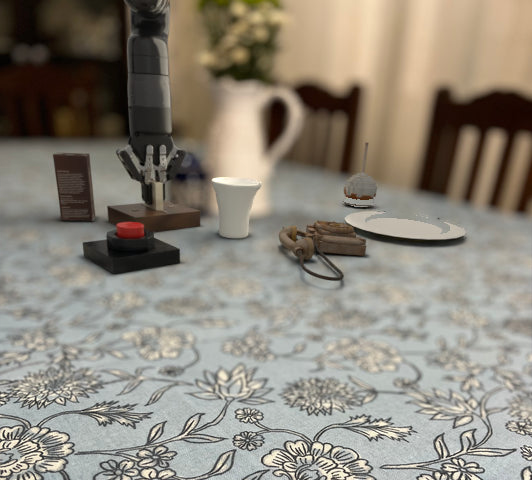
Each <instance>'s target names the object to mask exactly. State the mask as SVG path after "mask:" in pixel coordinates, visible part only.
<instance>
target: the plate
mask: <svg viewBox="0 0 532 480" xmlns="http://www.w3.org/2000/svg"><path fill="white" fill-rule="evenodd" d="M377 211H378V210H368V211H367V210H366V211H365V210H364V211H358V212H357V211H356V212H352V213H350V214H347V215H345V218H344V222H345V224H347V225H351V226H352V227H353V229H356V230H359V231H362V232H365V233H368V234H371V235H374V236H376V237H377V236H378V237H381V238H387V239H391V240H397V241H406V242H418V243H419V242H420V243H421V242H426V243H427V242H428V243H429V242H445V241H453V240H452V239H454V240H457V238H458V239H460V238H459V237H461V238H463V237H462V236H464V235H465V233H466V232H467V230H466V231H465V229H466V228H465V227H463V228H461V227H458V226H456V225H453V224H450V223H447V222H444V223H446V224H448V225H449V226H450V231H448V232H447V233H443V234H440V233H441V232H442V229H441V228H439V227H437V226H435V225H432V224H428V223H424V222H420V221H414V220H408V219H397V218H377V219H371V220H369V221H367V223H366V222H365V219H366V218H367V217H370V216H371V215H375V214H382V213H385V212H377ZM416 216H417V215H416ZM422 217H423V216H422ZM426 218H428V217H426ZM464 228H465V229H464ZM465 236H466V235H465ZM465 236H464V237H465ZM444 240H445V241H444Z"/></svg>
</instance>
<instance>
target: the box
mask: <svg viewBox="0 0 532 480" xmlns="http://www.w3.org/2000/svg"><path fill="white" fill-rule="evenodd" d="M52 159H53V166H54V167H53V168H54V173H55V181H56V189H57V196H58V206H59V213H60V220H61V221H62V222H63V221H87V222H89V221H90V222H94V220H95V219H96V209H95V198H94V187H93V178H92V167H91V156H90V153H86V152H85V153H83V152H55V153H53V154H52Z"/></svg>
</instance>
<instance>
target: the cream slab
mask: <svg viewBox="0 0 532 480" xmlns="http://www.w3.org/2000/svg"><path fill="white" fill-rule="evenodd" d="M150 184H151V185H152V197H153V204H152V205H148V204H145V206H147V207H149V208H151V209H153V210H155V211H162V210H163V183H161V182H158V181H155V179H154V178H153V177H151V183H150Z"/></svg>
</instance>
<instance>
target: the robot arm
mask: <svg viewBox="0 0 532 480" xmlns="http://www.w3.org/2000/svg"><path fill="white" fill-rule="evenodd" d="M123 2H124V3H125V5H127V7H128V8H129V21H130V23H129V24H130V33H129V34H130V35H129V36H128V38H127V43H126V44H127V45H126V60H127V105H128V123H129V134H130V135H129V138H128V141H127V144H126V145H125V146H124V147H123V148H121V149H120V148H118V149H116V150H115V154H116V156H117V159H119V161H120V162H121V164H122V166H123V168H124V169H125V171H126V172H127V174H128V176H129V177H130V179H131V180H133V181H136V182H139V183H140V188H141V190H140V191H141V200H142V201H143V202H144V203H145V204H148V205H152V204H153V197H152V185H151V184H150V183H151V178H152V172H153V174H154V180H155V181H158V182H161V183H163V201H166V184H167V182H169V181H173V180H175V178H176V177H177V174H178V171H179V170H180V168H181V166H182V163H183V161H184V159H185V158H186V155H187V153H186V150H183V149H180V148H179V147H177V146H176V145H175V142H174V139H173V135H172V134H173V110H172V109H173V108H172V107H173V106H172V104H173V98H172V86H171V78H170V51H169V50H170V49H169V37H170V36H169V35H170V24H171V0H123ZM133 155H134V156H135V158H136V159H137V160H138V161H137V162H138V163H137V166H138V168H137V167H136V165H135V162H134V161H133V160H132V159H133V158H134V157H133ZM169 156H170V159H169V161H168V163H167V159H168V158H169Z"/></svg>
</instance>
